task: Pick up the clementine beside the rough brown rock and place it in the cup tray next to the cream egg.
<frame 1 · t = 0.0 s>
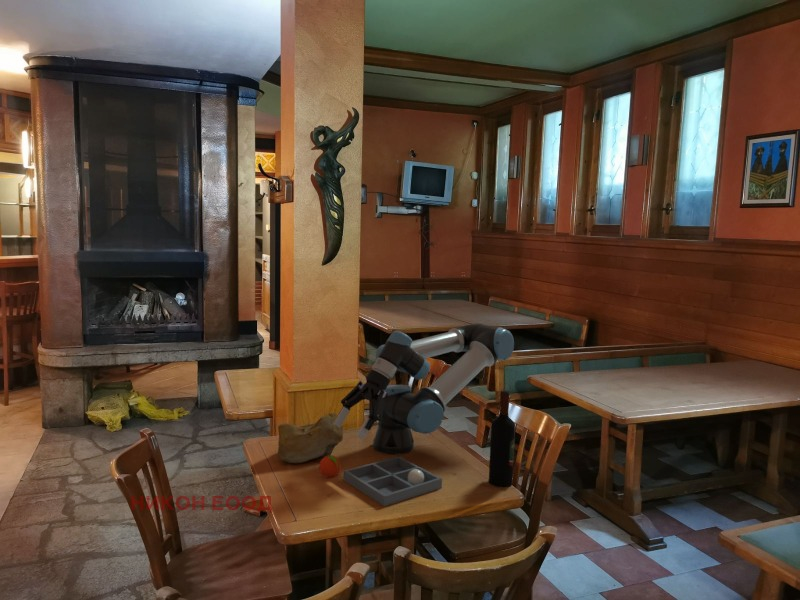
hand: (347, 431, 191), 15 cm above the table, tool tilted 35°, fingers open, 13 cm apart
cup tray: (391, 486, 187), on the table
wine bottle: (500, 483, 193), on the table
rough brown rock: (307, 455, 211), on the table
cream egg: (415, 485, 186), point 1 cm above the table, touching cup tray
clementine: (330, 477, 193), on the table
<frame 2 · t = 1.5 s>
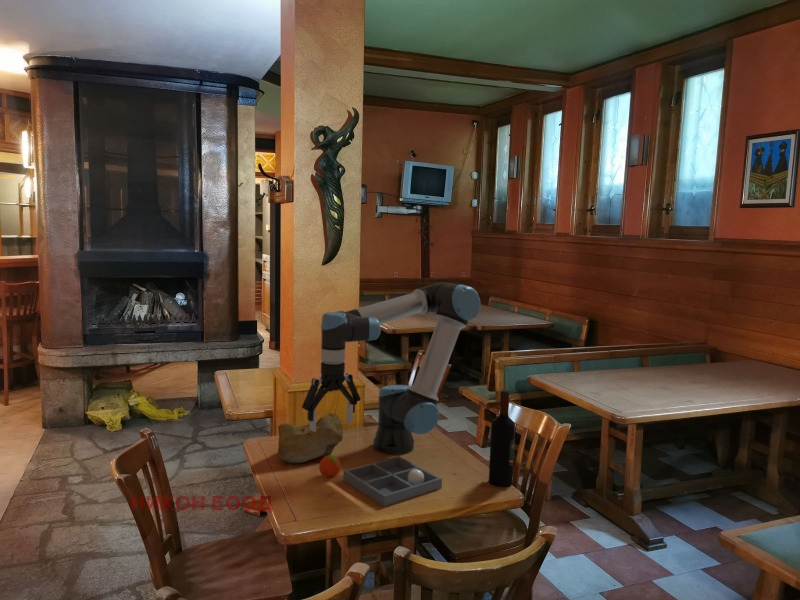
hand: (331, 426, 191), 17 cm above the table, tool pointing down, fingers open, 13 cm apart
nothing on the table moved.
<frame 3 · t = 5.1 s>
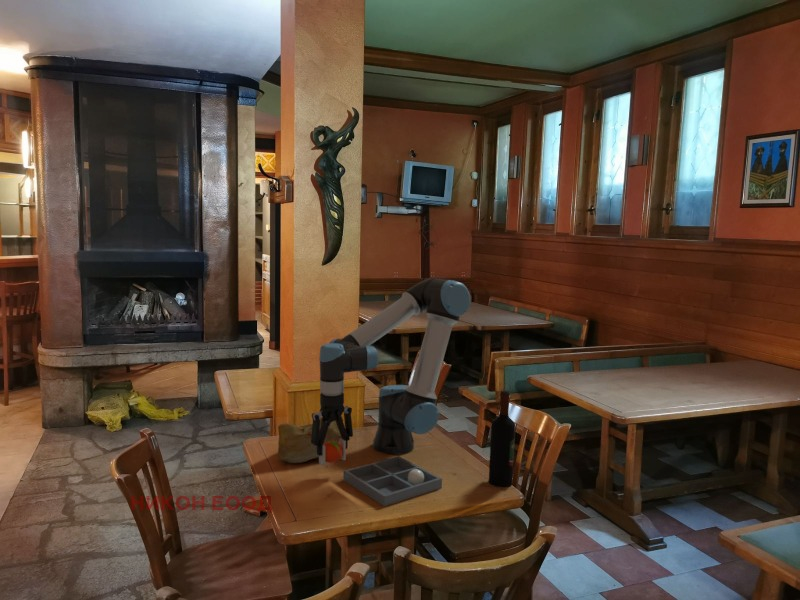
hand: (332, 461, 193), 5 cm above the table, tool pointing down, fingers closed on clementine, 7 cm apart
clementine: (332, 463, 193), point 5 cm above the table, touching gripper
everything else where it was.
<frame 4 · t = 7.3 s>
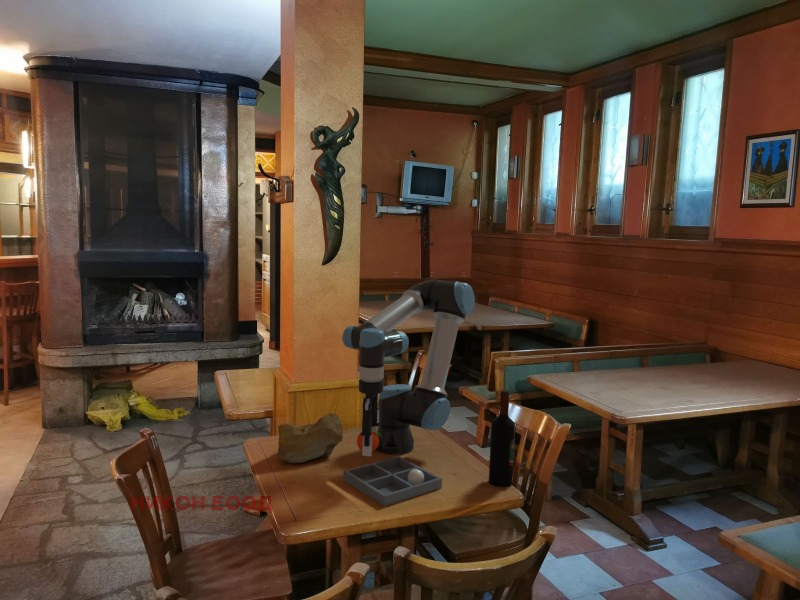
hand: (369, 450, 186), 11 cm above the table, tool pointing down, fingers closed on clementine, 7 cm apart
clementine: (369, 452, 187), point 11 cm above the table, touching gripper
everything else where it was.
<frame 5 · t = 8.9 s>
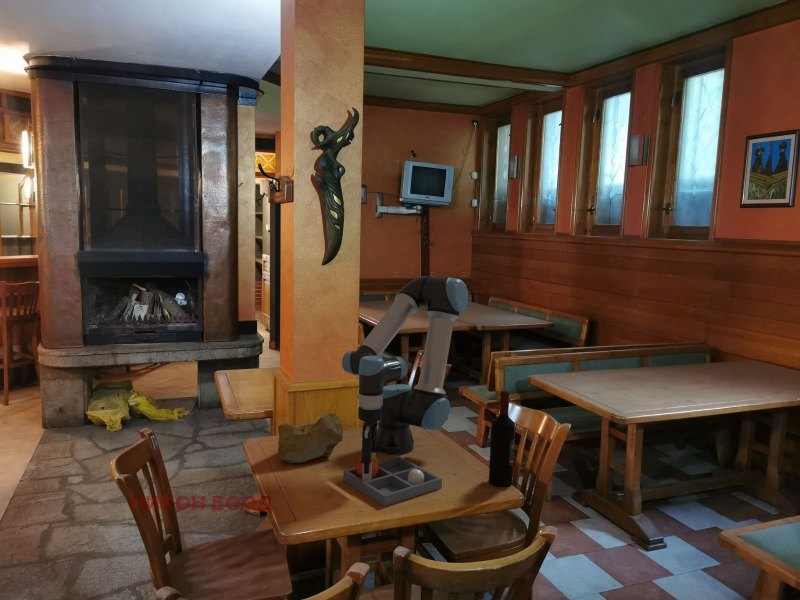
hand: (368, 477, 188), 3 cm above the table, tool pointing down, fingers closed on clementine, 7 cm apart
clementine: (368, 478, 188), point 2 cm above the table, touching gripper
everything else where it was.
when the fingers open (3 cm above the table, at t = 10.5 s): clementine stays where it is, resting on cup tray.
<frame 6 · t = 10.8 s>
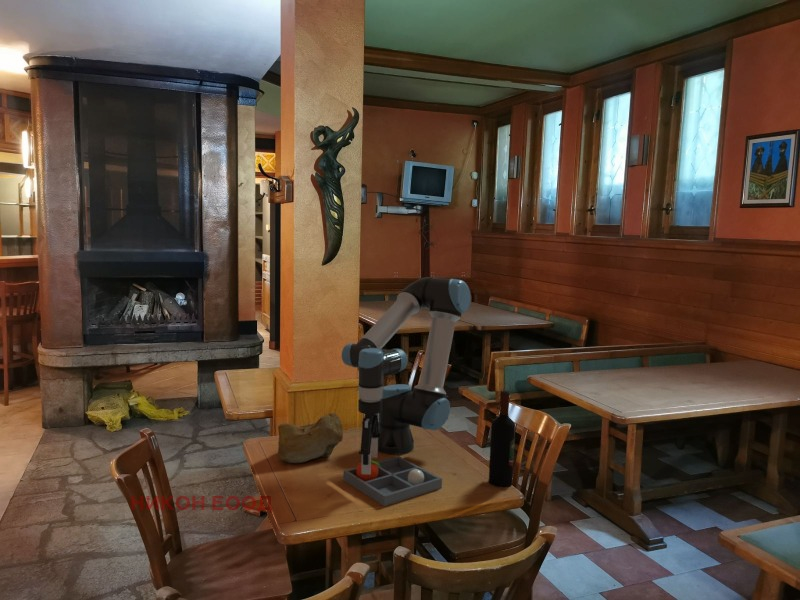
hand: (369, 465, 187), 6 cm above the table, tool pointing down, fingers open, 12 cm apart
clementine: (368, 482, 188), point 1 cm above the table, touching cup tray
everything else where it was.
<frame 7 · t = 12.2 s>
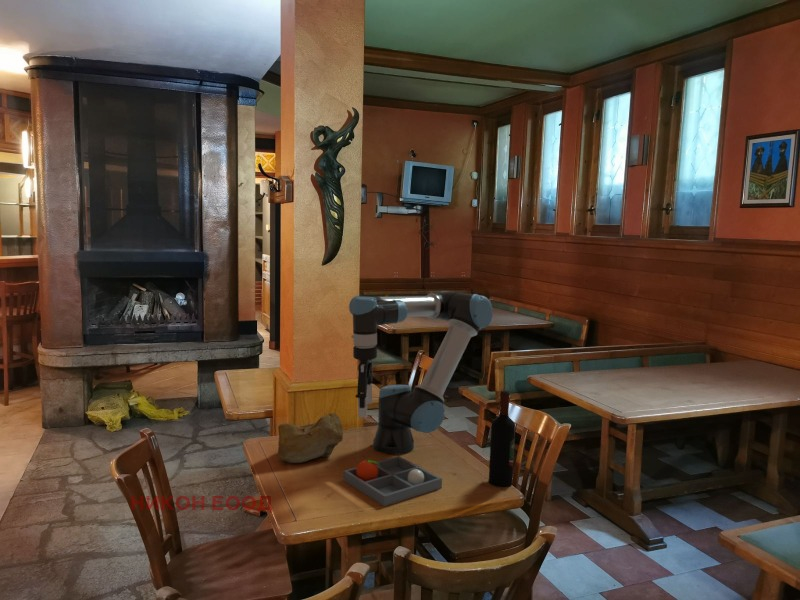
hand: (365, 410, 193), 22 cm above the table, tool pointing down, fingers open, 13 cm apart
nothing on the table moved.
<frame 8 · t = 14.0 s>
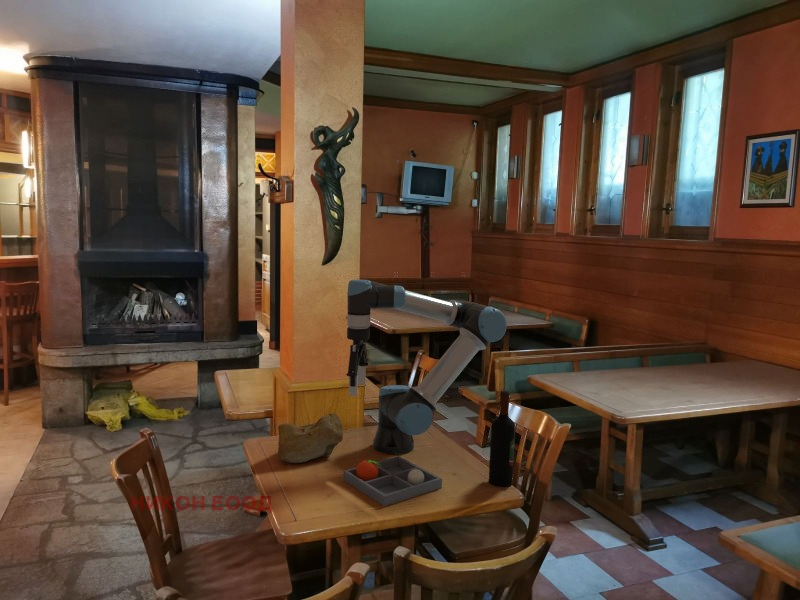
hand: (357, 390, 198), 27 cm above the table, tool pointing down, fingers open, 13 cm apart
nothing on the table moved.
at the end: clementine inside the target area on the cup tray (0.2 cm from its centre), point 0.8 cm above the cup tray's base; the gripper is holding nothing; cream egg moved 0.0 cm from its start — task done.
